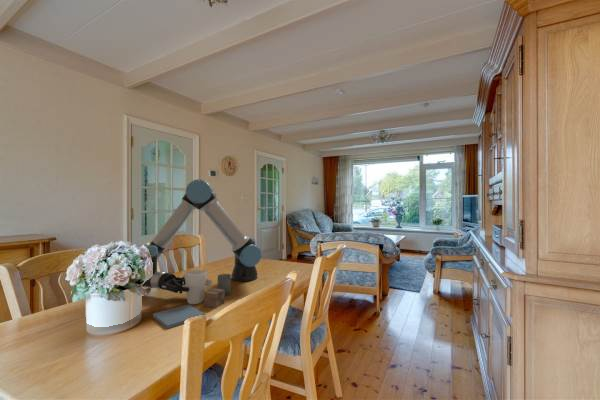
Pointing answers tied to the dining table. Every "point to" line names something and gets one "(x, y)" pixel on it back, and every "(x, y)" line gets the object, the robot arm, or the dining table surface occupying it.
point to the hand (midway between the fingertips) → (203, 286)
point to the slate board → (176, 315)
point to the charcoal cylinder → (224, 283)
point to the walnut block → (214, 297)
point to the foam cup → (197, 280)
